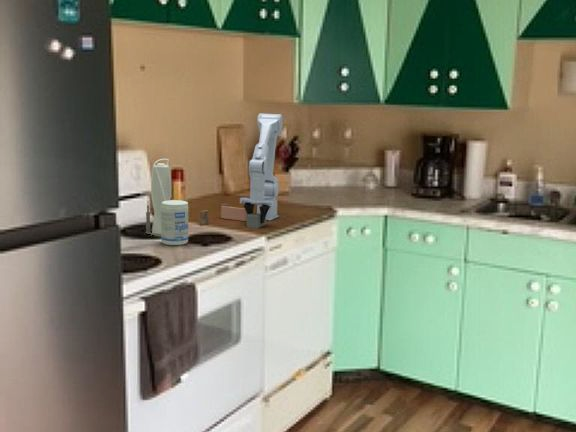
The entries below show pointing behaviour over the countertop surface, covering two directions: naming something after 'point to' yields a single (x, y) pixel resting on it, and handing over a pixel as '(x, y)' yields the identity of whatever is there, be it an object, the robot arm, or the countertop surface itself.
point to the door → (233, 213)
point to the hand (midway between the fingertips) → (256, 222)
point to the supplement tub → (174, 222)
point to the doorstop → (254, 220)
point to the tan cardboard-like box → (206, 216)
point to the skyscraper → (158, 195)
